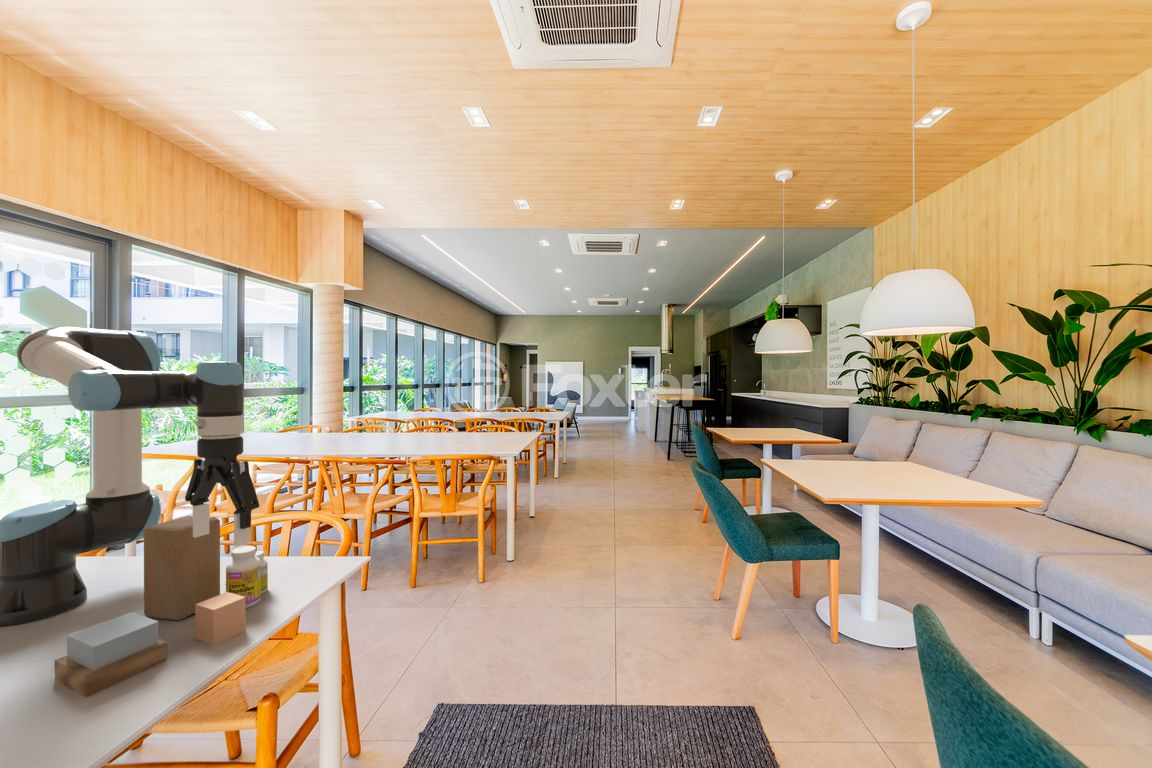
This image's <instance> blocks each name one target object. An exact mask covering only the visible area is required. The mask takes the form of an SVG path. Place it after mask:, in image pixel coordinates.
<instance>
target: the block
mask: <svg viewBox="0 0 1152 768" xmlns="http://www.w3.org/2000/svg"><path fill="white" fill-rule="evenodd" d="M218 595H221V520H220V519H219V518H217V517H209V534H207V535H203V536H199V537H196V538H194V537H193V515H186V516H181V517H177V518H174V519H172V520H171V519H169V520H168V521H164V522H161V523H158V524H156V525H153V526H149V527H147V528H145V530H144V538H143V614H144V616H145V617H148V618H154V619H161V620H171V621H181V620H183V619H185V618H188V617H190V616H192V615H193V614H195V604H197V603H200V602H203V601H205V600H208V599H210V598H213V597H216V596H218Z"/></svg>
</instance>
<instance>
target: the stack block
mask: <svg viewBox="0 0 1152 768" xmlns="http://www.w3.org/2000/svg"><path fill="white" fill-rule="evenodd" d="M194 614H195V618H194V619H195V622H194V623H195V625H194V627H195V629H194V631H195V639H196V640H199V641H201V642H204V643H207V644H209V645H212V646H215V645H217V644H219V643H221V642H224V641H225V640H228V639H231V638H232V637H234V636H236V635H238V634H240V633H243V632H244V631H246V608H245V597H243V596H240V595H236V594H233V593H229V592H226V591H225V592H224V593H220V595H218V596H216V597H213V598H210V599H208V600H205V601H203V602H200V603H197V604H195V613H194Z"/></svg>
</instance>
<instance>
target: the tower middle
mask: <svg viewBox="0 0 1152 768" xmlns="http://www.w3.org/2000/svg"><path fill="white" fill-rule="evenodd" d="M159 639H160V637H159V621H158V620H155V619H152V618H151V617H147V616H145V615H142V614H139V613H137V612H133V611H131V612H127V613H125V614H122V615H119V616H117V617H114V618H111V619H109V620H106V621H102V622H100V623H97V624H95V625H92V626H89V627H87V628H83V629H81V630H78V631H75V632H73V633H70V634H67V635H66V646H67V647H66V654H67V655H66V656H67V658H69V659H71V660H73V661H75V662H77V663H79V664H81V665H83V666H85V667H87V668H89V669H91V670H93V671H94V670H96V669H99V668H101V667H103V666H106V665H108V664H110V663H113V662H115V661H117V660H120V659H122V658H124V657H127V656H129V655H131V654H134V653H136V652H138V651H141V650H143V649H146V648H148V647H150V646H153V645H155V644H157V643H159Z"/></svg>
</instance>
